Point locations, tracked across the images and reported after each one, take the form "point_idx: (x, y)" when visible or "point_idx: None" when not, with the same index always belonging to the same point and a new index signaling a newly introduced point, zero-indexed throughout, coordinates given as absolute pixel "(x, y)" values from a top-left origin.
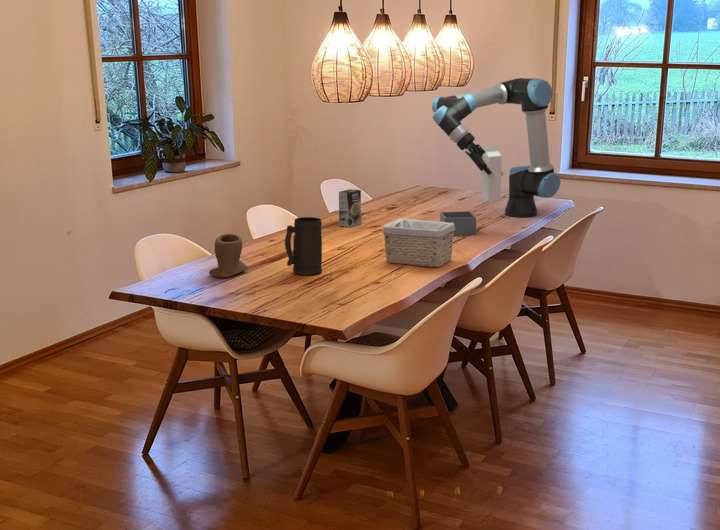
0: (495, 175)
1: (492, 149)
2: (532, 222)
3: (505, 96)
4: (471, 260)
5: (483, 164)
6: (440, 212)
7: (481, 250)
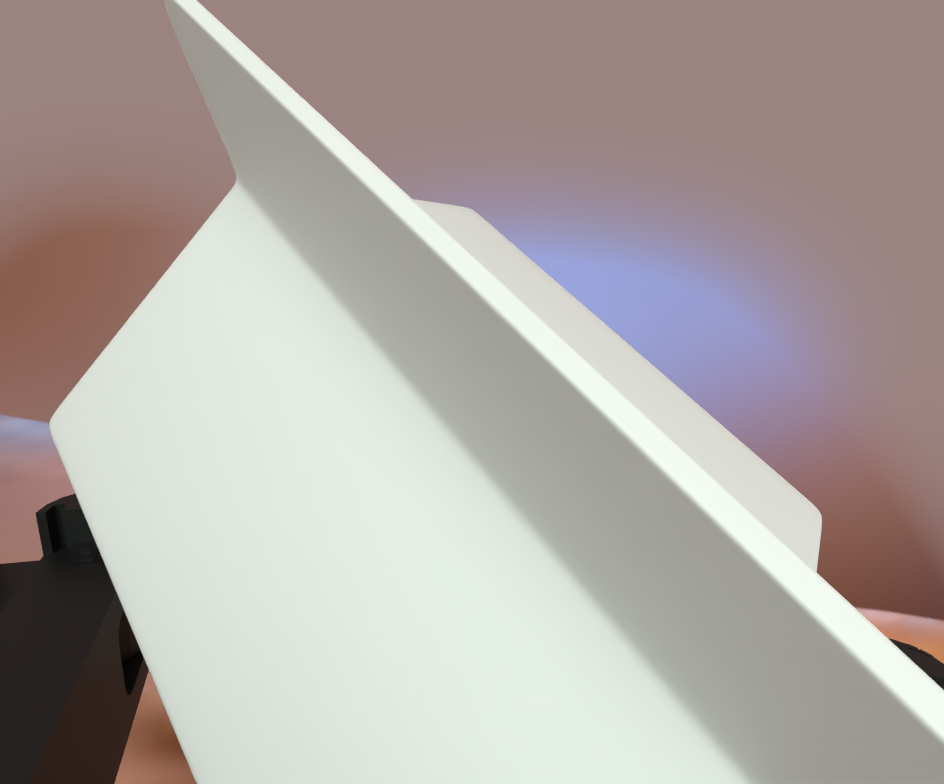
0: None
1: (402, 295)
2: (58, 455)
3: None
4: (910, 618)
5: (936, 671)
6: None
7: None
